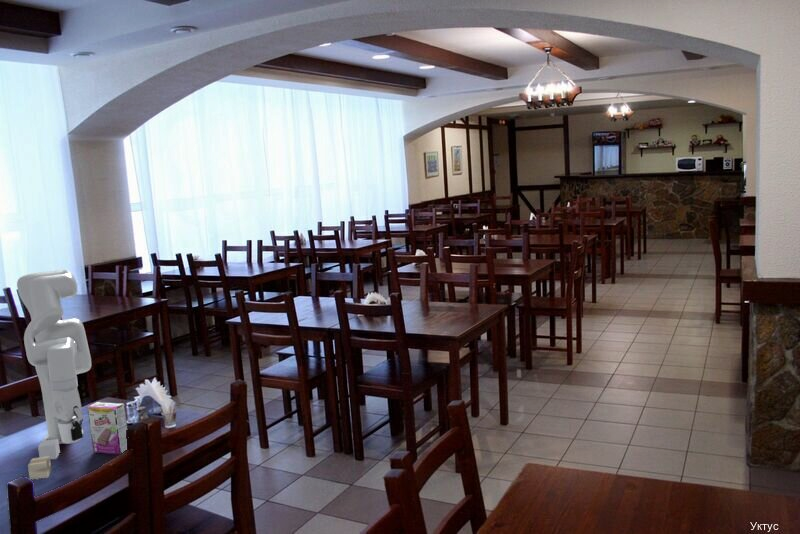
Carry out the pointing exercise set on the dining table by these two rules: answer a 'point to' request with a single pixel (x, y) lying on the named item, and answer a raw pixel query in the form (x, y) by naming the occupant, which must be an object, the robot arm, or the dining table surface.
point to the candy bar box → (108, 427)
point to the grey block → (49, 448)
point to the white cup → (66, 431)
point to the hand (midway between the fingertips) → (71, 436)
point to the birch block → (39, 467)
